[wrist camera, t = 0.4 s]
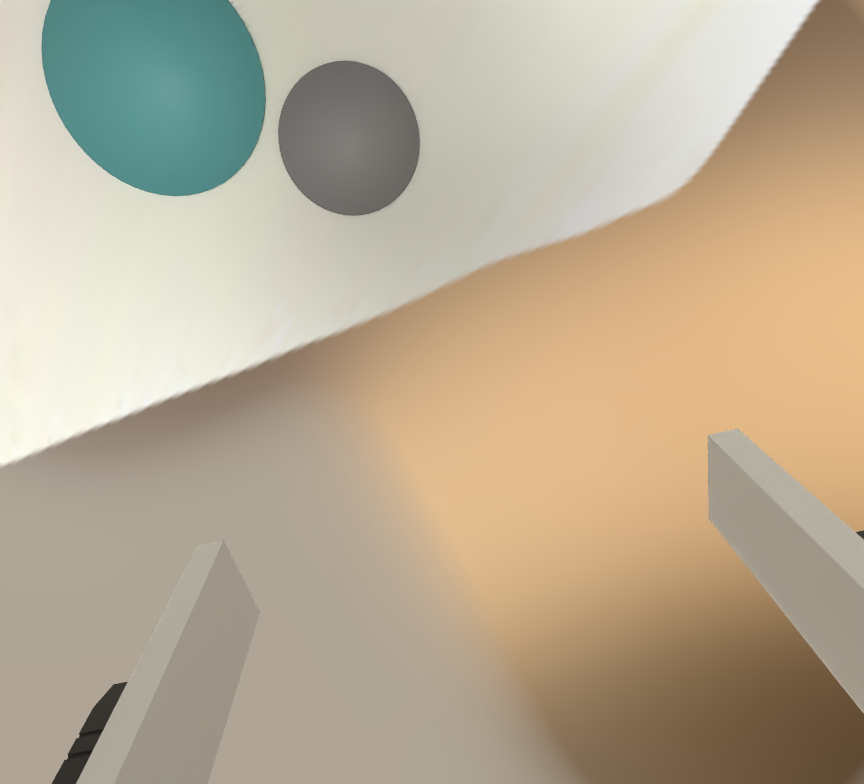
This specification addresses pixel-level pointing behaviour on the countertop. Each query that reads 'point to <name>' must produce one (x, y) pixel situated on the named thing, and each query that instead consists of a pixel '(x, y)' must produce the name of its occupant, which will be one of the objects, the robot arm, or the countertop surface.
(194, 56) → the disc
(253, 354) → the countertop surface
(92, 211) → the countertop surface
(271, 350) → the countertop surface
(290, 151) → the disc
